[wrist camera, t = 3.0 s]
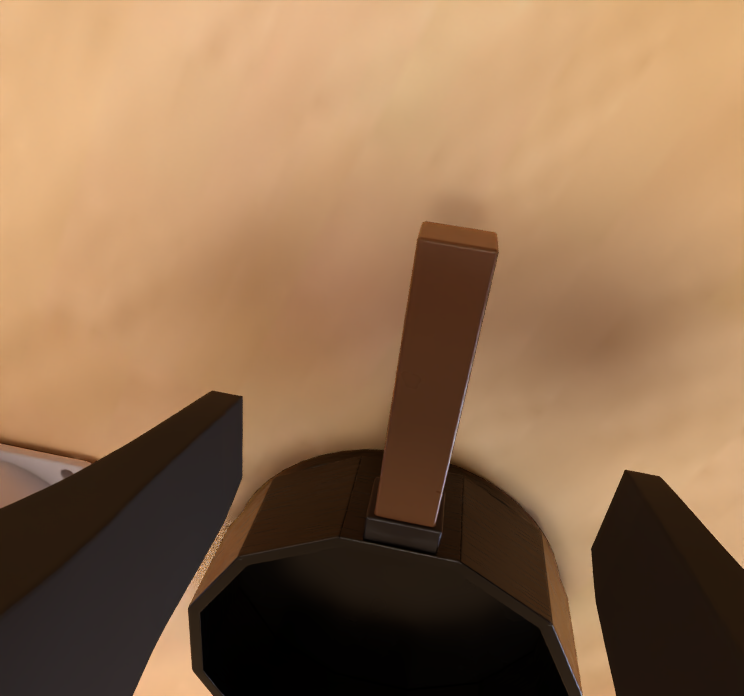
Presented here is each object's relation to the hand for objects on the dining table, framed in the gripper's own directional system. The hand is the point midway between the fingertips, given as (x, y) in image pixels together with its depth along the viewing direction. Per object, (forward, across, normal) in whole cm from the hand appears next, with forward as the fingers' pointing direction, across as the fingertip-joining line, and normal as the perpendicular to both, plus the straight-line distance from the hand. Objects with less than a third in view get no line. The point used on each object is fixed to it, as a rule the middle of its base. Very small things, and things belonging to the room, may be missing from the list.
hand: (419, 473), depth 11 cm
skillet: (+6, 0, +6) cm, 9 cm away
